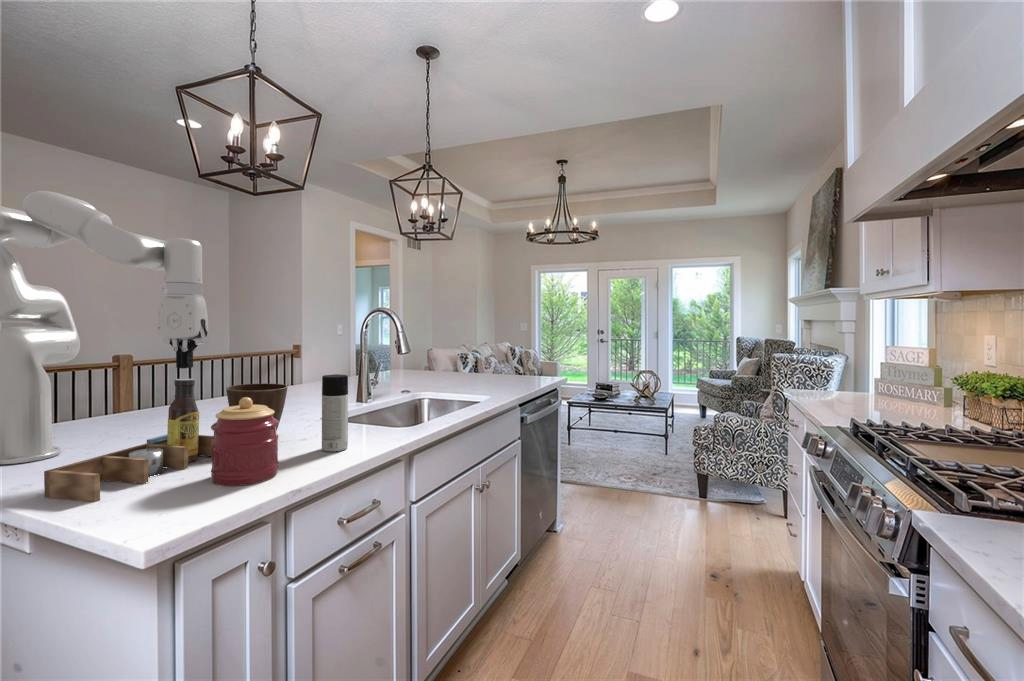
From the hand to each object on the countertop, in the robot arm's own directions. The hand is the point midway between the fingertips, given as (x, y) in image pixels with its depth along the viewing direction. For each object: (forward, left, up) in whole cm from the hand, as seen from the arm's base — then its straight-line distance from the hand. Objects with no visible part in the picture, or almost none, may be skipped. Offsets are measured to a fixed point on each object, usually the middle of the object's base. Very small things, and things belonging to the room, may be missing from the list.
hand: (184, 367), depth 114 cm
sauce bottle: (0, 0, -23) cm, 23 cm away
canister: (+22, -7, -23) cm, 32 cm away
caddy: (0, -10, -23) cm, 25 cm away
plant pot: (+6, +18, -23) cm, 30 cm away
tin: (0, -10, -23) cm, 25 cm away
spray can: (+29, +18, -23) cm, 41 cm away
